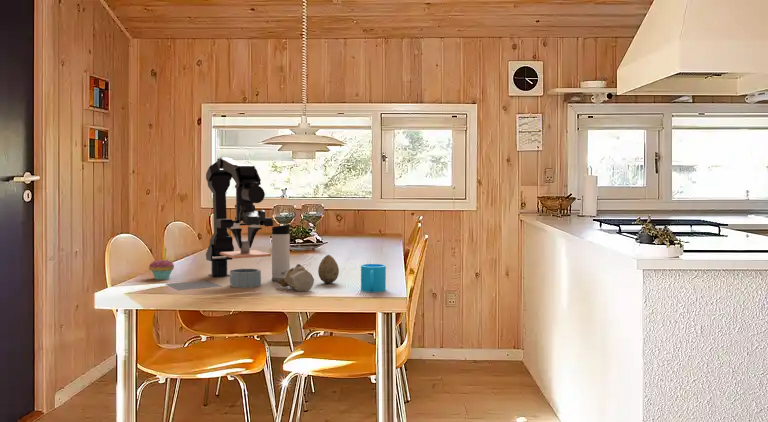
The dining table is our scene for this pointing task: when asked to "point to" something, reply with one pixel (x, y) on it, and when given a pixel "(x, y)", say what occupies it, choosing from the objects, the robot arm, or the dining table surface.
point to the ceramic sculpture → (298, 279)
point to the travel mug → (280, 252)
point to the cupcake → (161, 268)
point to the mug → (373, 277)
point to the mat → (193, 285)
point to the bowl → (245, 278)
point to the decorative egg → (328, 269)
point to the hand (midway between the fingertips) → (245, 248)
